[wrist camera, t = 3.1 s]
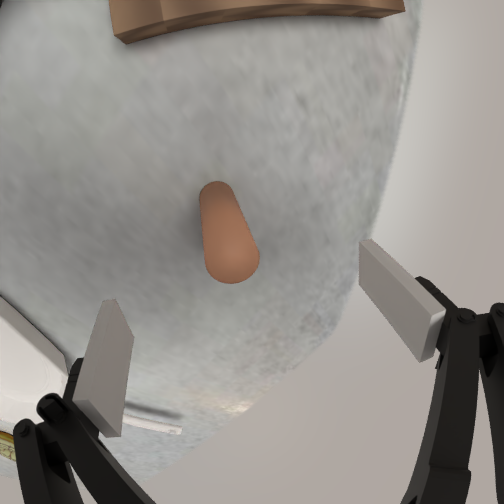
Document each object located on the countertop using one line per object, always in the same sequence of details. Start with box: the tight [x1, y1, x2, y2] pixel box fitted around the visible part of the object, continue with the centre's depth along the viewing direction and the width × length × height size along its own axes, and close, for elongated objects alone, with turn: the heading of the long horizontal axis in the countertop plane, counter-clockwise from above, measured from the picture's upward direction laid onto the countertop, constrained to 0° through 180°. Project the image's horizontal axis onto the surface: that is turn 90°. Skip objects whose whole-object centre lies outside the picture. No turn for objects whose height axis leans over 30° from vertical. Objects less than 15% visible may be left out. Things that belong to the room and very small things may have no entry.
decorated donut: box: [0, 431, 16, 462], centre depth 42 cm, size 10×11×4 cm
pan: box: [0, 296, 182, 435], centre depth 34 cm, size 28×41×4 cm
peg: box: [200, 181, 260, 284], centre depth 24 cm, size 3×3×12 cm
